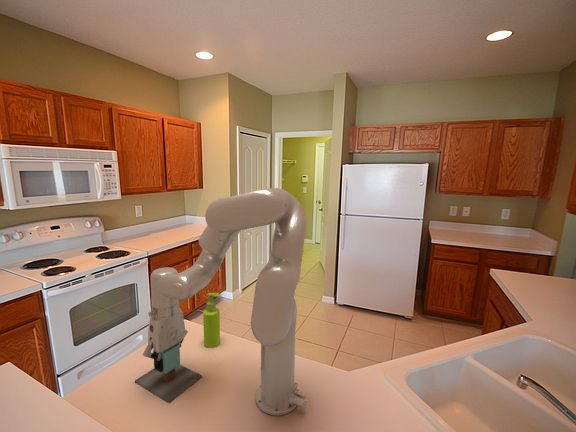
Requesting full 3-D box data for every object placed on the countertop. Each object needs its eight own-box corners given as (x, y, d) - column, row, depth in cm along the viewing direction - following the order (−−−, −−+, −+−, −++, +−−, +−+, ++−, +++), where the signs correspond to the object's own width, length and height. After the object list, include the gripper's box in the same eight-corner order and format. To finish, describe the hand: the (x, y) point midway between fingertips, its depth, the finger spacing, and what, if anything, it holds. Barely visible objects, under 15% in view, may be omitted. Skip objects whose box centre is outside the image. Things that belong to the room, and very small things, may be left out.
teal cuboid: (180, 364, 85) (179, 344, 85) (165, 373, 81) (164, 353, 80) (169, 358, 88) (168, 339, 87) (154, 367, 83) (153, 347, 83)
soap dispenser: (218, 349, 100) (217, 297, 98) (201, 347, 102) (199, 296, 99) (225, 340, 106) (224, 291, 104) (208, 338, 108) (207, 289, 105)
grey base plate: (202, 377, 86) (201, 356, 85) (169, 403, 76) (168, 380, 75) (168, 360, 94) (168, 341, 93) (134, 382, 84) (133, 361, 83)
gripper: (146, 325, 73) (149, 387, 75) (196, 301, 88) (197, 353, 90) (130, 317, 76) (133, 377, 79) (180, 296, 91) (182, 346, 93)
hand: (167, 364), depth 84 cm, fingers closed on teal cuboid, 5 cm apart
